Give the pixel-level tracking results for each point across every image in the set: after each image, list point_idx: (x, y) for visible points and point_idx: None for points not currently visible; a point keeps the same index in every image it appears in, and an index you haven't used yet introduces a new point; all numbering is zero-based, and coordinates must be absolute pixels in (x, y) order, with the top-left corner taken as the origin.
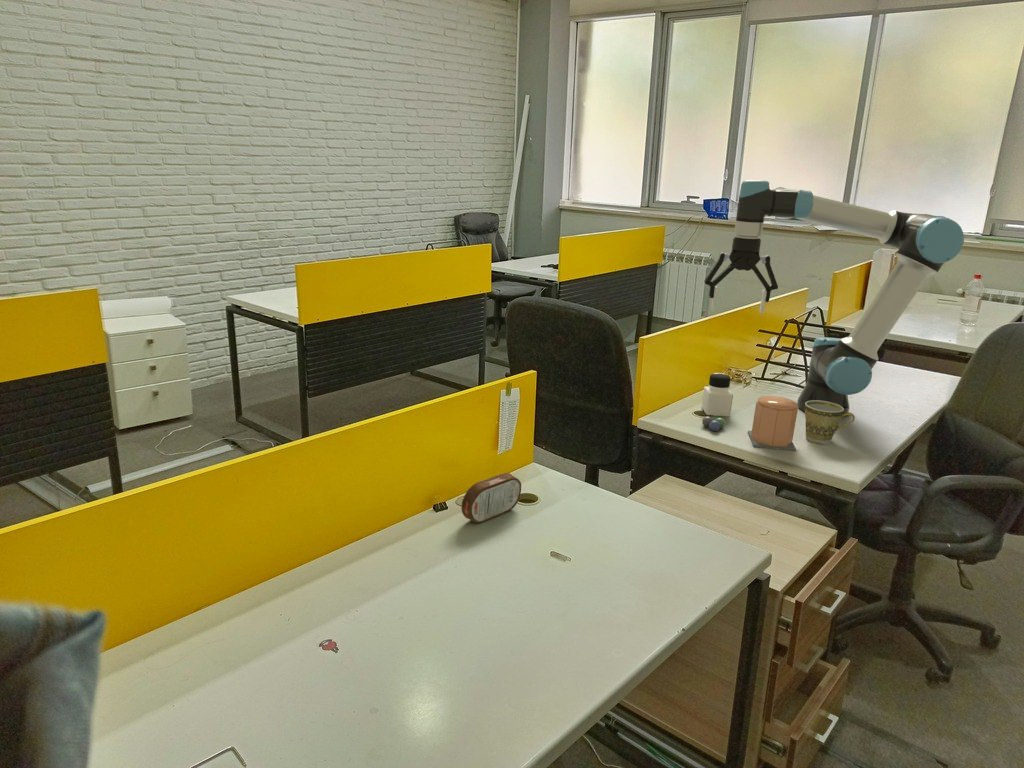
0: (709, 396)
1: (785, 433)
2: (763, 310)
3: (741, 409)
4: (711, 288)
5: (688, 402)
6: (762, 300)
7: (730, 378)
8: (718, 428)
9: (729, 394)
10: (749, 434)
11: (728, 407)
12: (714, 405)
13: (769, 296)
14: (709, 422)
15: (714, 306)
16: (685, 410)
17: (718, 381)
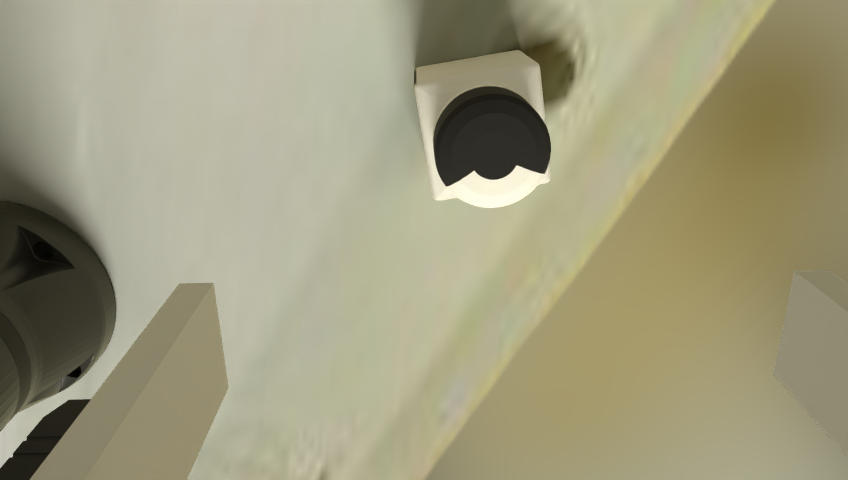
0: (534, 61)
1: None
2: (168, 304)
3: (354, 190)
4: None
5: (580, 212)
6: (152, 388)
7: (436, 141)
8: None
9: (433, 81)
10: None
11: (427, 71)
12: (496, 59)
13: (10, 460)
14: None
15: (830, 292)
16: (609, 93)
17: (506, 94)
